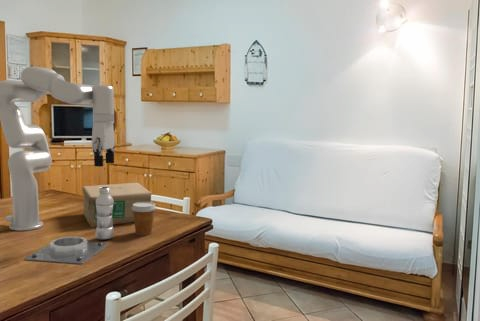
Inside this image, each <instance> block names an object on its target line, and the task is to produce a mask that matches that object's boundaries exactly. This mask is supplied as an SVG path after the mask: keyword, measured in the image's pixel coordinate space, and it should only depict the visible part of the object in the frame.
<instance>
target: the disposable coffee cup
mask: <svg viewBox="0 0 480 321" xmlns="http://www.w3.org/2000/svg"><path fill="white" fill-rule="evenodd" d="M156 208H157V206H156V203H154V202H152V201H151V202H138V203H134V204H133V206H132V210H133V215H134V222H133V223H134V229H135V230H134V231H135V234H136V235H137V236H149V235H152V233H153V226H154V218H155V211H156Z"/></svg>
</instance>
